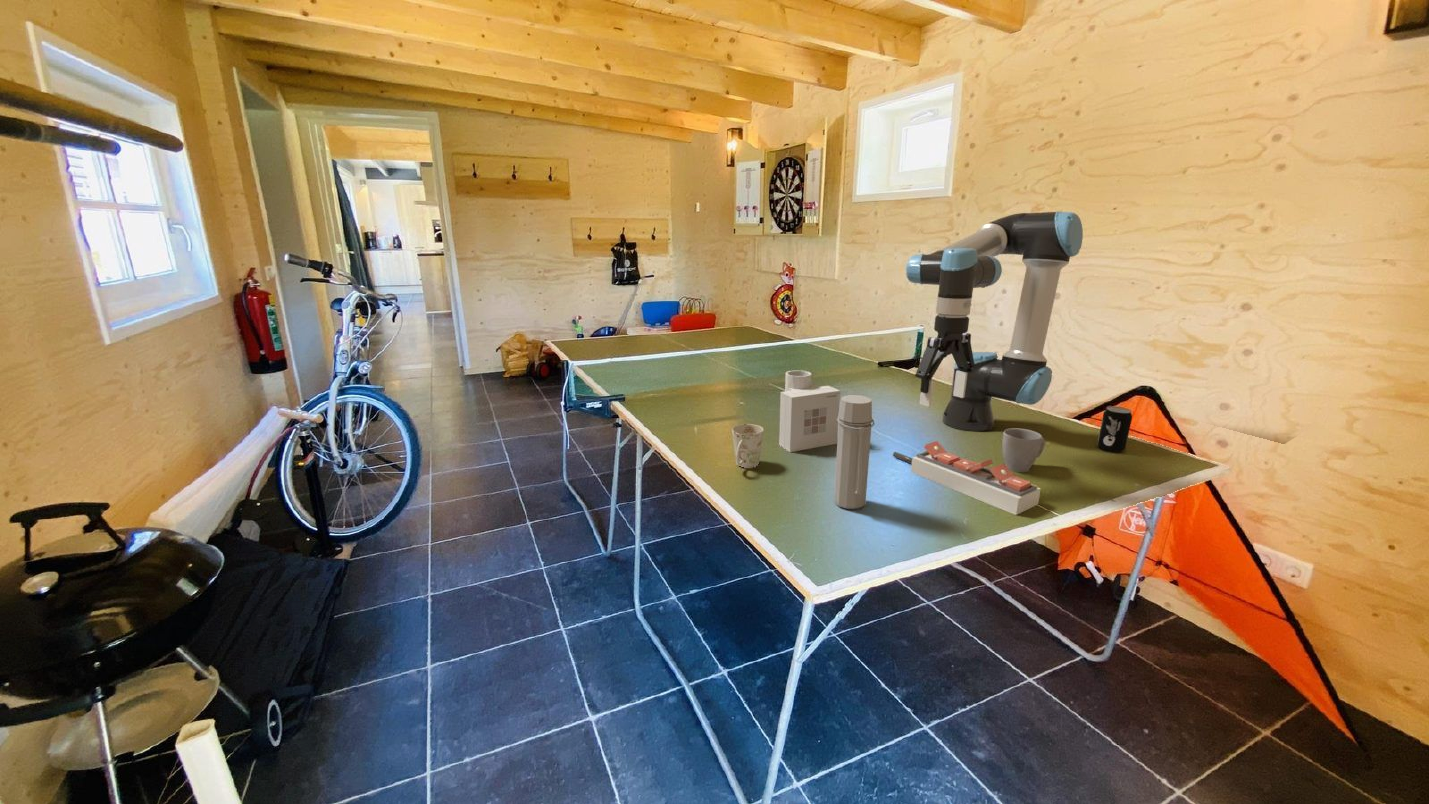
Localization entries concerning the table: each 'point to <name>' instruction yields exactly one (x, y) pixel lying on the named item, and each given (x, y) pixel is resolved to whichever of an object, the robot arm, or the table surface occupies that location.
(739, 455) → the mug
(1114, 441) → the beverage can
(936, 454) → the rocker
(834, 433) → the white detergent container
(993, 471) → the rocker
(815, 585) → the table surface
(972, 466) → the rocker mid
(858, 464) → the water bottle
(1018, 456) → the mug
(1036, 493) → the power strip
